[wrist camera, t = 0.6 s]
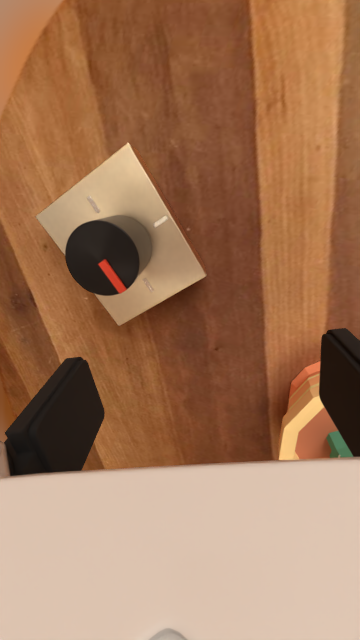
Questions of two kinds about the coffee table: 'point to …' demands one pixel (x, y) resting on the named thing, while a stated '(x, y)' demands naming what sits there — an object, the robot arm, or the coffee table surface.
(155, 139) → the coffee table surface
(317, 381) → the potted cactus
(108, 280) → the knob
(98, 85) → the coffee table surface
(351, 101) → the coffee table surface
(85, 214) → the dial panel
